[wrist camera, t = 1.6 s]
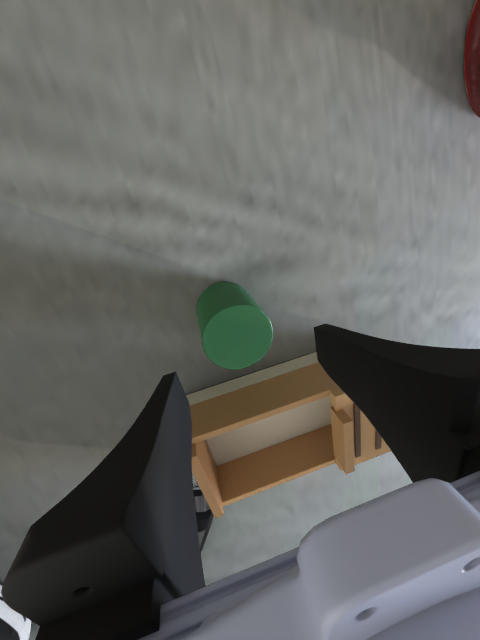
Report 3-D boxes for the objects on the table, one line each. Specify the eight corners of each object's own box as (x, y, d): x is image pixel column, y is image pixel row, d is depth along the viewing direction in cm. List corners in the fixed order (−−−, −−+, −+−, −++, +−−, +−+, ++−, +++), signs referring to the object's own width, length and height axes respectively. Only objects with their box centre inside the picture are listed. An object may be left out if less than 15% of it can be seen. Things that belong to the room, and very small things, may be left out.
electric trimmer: (165, 566, 32) (164, 601, 29) (183, 488, 27) (183, 520, 24) (194, 562, 33) (195, 594, 30) (217, 485, 28) (221, 516, 25)
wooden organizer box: (357, 337, 24) (420, 381, 18) (358, 404, 28) (410, 459, 22) (182, 395, 22) (182, 467, 16) (209, 458, 26) (218, 536, 20)
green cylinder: (244, 274, 19) (266, 295, 14) (255, 323, 21) (278, 357, 16) (189, 290, 19) (192, 317, 14) (205, 339, 20) (213, 378, 15)
